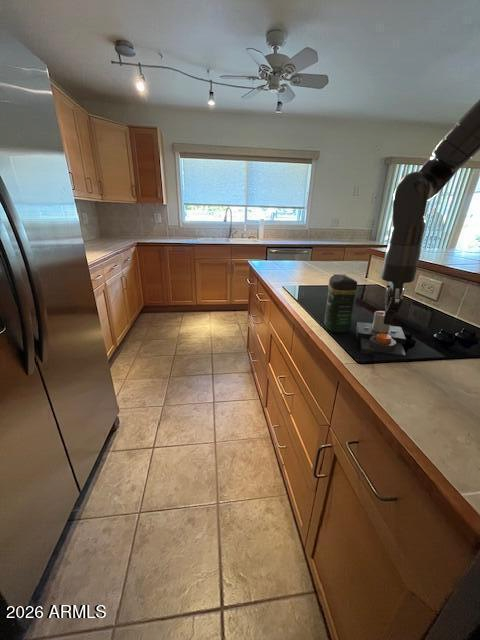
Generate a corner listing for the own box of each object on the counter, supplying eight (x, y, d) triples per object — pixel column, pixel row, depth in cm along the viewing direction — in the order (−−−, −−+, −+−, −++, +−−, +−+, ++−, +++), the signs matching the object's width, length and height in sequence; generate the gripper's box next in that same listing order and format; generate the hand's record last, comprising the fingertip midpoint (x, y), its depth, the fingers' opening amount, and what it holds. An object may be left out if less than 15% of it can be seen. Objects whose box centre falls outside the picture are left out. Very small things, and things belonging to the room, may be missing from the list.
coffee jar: (353, 334, 87) (362, 279, 79) (329, 334, 87) (336, 280, 79) (343, 322, 96) (350, 272, 88) (321, 322, 96) (327, 272, 88)
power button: (389, 339, 76) (390, 334, 75) (390, 345, 73) (392, 339, 72) (375, 337, 77) (376, 332, 77) (376, 343, 74) (377, 337, 74)
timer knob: (388, 327, 84) (392, 311, 81) (389, 334, 80) (393, 316, 77) (371, 325, 85) (374, 309, 83) (371, 331, 81) (375, 314, 79)
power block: (400, 348, 78) (403, 337, 76) (404, 360, 72) (407, 349, 70) (360, 342, 81) (362, 332, 80) (360, 353, 75) (362, 342, 74)
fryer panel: (399, 335, 85) (401, 326, 84) (403, 348, 78) (406, 338, 76) (356, 329, 90) (357, 321, 89) (356, 341, 82) (358, 332, 81)
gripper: (423, 268, 59) (406, 335, 66) (412, 257, 71) (399, 316, 78) (386, 266, 62) (374, 331, 69) (381, 256, 73) (371, 313, 80)
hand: (387, 323), depth 73 cm, fingers closed
